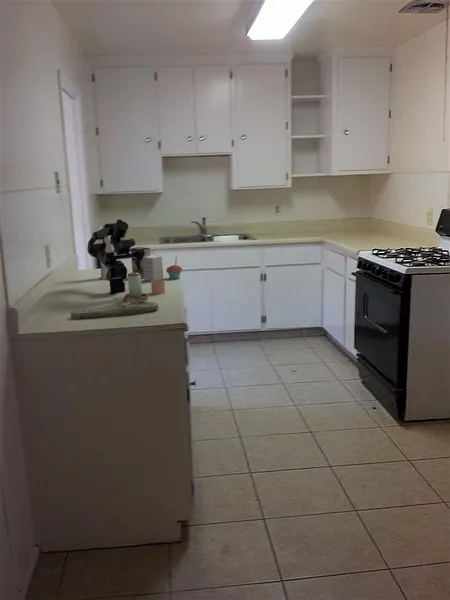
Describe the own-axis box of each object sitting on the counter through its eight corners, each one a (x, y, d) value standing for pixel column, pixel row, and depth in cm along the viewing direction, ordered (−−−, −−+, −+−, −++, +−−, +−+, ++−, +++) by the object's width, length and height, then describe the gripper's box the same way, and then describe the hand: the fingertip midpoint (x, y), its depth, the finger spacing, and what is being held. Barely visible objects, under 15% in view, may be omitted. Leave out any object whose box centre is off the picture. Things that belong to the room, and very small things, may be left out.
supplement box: (154, 278, 309) (152, 255, 307) (163, 279, 305) (162, 255, 302) (144, 280, 304) (142, 256, 301) (153, 281, 299) (152, 257, 296)
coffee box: (132, 277, 314) (130, 248, 311) (139, 275, 319) (137, 247, 316) (144, 278, 309) (142, 249, 306) (152, 276, 315) (150, 247, 311)
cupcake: (175, 276, 313) (174, 254, 310) (185, 277, 307) (184, 255, 304) (163, 278, 307) (162, 256, 304) (173, 280, 301) (172, 257, 298)
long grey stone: (71, 319, 231) (72, 326, 222) (69, 306, 229) (70, 313, 220) (156, 306, 240) (160, 312, 231) (154, 294, 239) (159, 300, 229)
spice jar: (128, 299, 253) (126, 274, 251) (131, 296, 258) (129, 272, 256) (140, 299, 252) (138, 274, 250) (143, 296, 258) (141, 272, 255)
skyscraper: (98, 277, 316) (94, 227, 310) (113, 276, 319) (109, 226, 314) (101, 280, 309) (97, 228, 303) (116, 278, 312) (112, 227, 306)
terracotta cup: (151, 295, 264) (151, 282, 263) (152, 292, 270) (151, 280, 269) (164, 294, 265) (164, 281, 263) (165, 292, 270) (164, 279, 269)
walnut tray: (123, 302, 250) (123, 298, 250) (126, 298, 260) (125, 294, 260) (146, 301, 251) (146, 297, 251) (148, 297, 261) (147, 293, 260)
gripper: (103, 234, 253) (114, 261, 246) (141, 231, 262) (153, 257, 256) (98, 251, 261) (109, 277, 254) (136, 247, 271) (147, 272, 264)
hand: (130, 270), depth 257 cm, fingers open, 9 cm apart
